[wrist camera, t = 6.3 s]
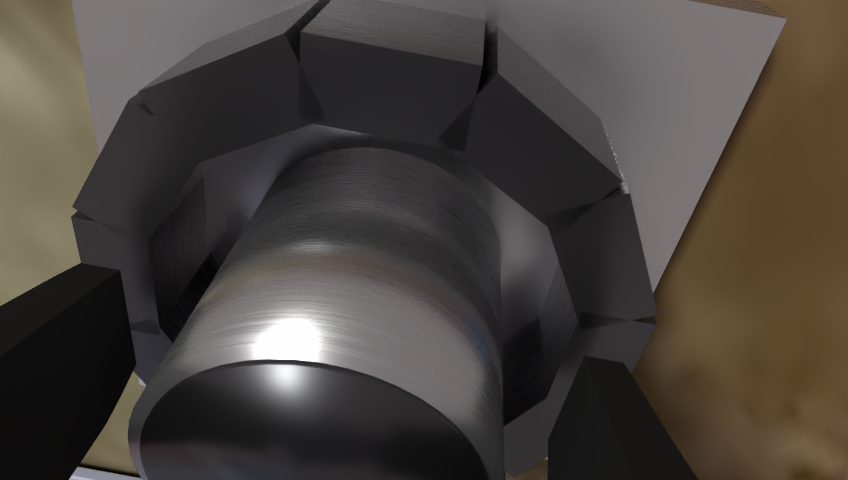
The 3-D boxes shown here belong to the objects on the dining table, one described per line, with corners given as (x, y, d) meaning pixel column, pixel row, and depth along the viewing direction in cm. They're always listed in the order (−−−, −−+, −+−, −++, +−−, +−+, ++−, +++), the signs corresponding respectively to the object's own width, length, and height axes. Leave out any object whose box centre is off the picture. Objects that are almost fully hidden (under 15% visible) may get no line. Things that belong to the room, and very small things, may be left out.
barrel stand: (565, 430, 16) (580, 550, 13) (158, 356, 16) (90, 460, 13) (762, 2, 10) (861, 66, 7) (88, -123, 10) (-66, -107, 7)
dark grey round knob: (491, 357, 13) (491, 601, 9) (272, 342, 14) (174, 568, 9) (510, 153, 10) (523, 369, 6) (232, 141, 11) (70, 337, 7)
